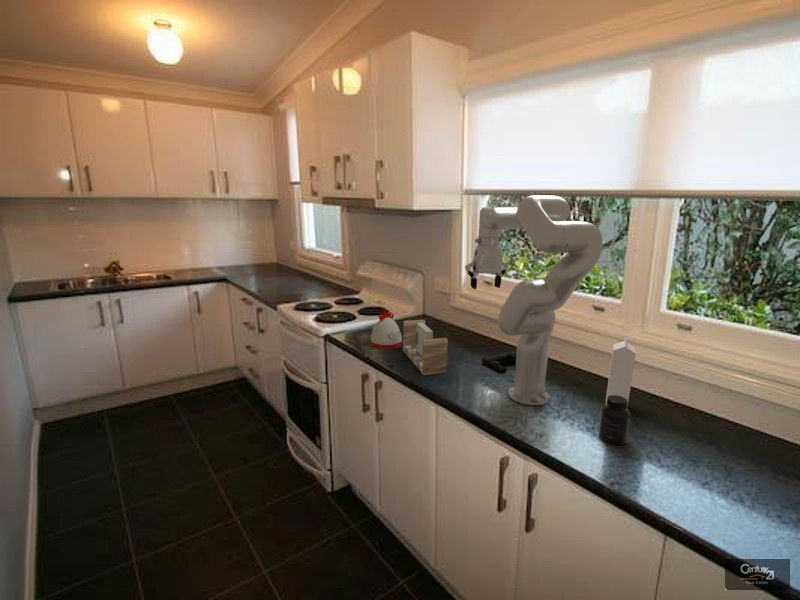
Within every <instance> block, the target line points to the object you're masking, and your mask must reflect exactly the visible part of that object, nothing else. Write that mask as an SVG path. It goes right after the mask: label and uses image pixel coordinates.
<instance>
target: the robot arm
mask: <svg viewBox="0 0 800 600" xmlns="http://www.w3.org/2000/svg"><path fill="white" fill-rule="evenodd" d="M570 209H571V208H570V204H569V202H568V201H567V200H566V199H565V198H563V197H561V196H557V195H545V194H544V195H539V194H538V195H537V194H536V195H535V194H534V195H533V194H531V195H529V196H526V197H524V198H523V199H521V200H520V201H519V203H518V206H516V207H513V206H512V207H511V206H510V207H506V206H505V207H504V206H503V207H501V206H500V207H499V206H496V207H495V206H494V207H489V206H488V207H487V206H486V207H485V206H484V207H481V209H480V210H479V222H478V235H477V238H474V242H475V243H477V245H476V246H475V249H474V254H473V261H472V262H470V263H467V264H466V265H465V266H464V269H465V271H466V273H467V275H468V276H469V277H470V287H471V289H473V290H476V289H477V285H478V284H477V283H478V279H477V277H478V275H479V274H484V275H486V274H495V277H494V283H493V284H494V287H496V288H498V289H500V288H501V285H502V278H503V277H504V275H505V274H506V272H507V271H508V268H509V264H507V263H505V262H503V252H502V250H503V249H502V245H500V234H501V233H500V232H501V230H524V231H525V232H526V234H527V236H528V237H529V238H530V240H531V241H532V242H533V244H534V245H535V247H536V248H537V249H538V250H540V251H541V252H542V253H545V254H565V256H563V257H561V258H560V259H559V260H557V261H556V262H555V264H553V266H552V267H551V269H550V271H549V272H548V273H547V274H546V275H545V276H544V277H541V278H538V279H535V278H534V279H526V280H525V279H524V280H522V281H521V282H518V283H517V284H516V285H515V286H514V287H513V288H512V290H511V291H510V294H509V295H508V297H507V299H506V300H505V302H504V304H503V305H502V307H501V309H500V311H499V314H498V317H497V318H498V319H497V323H498V327H499V329H500V330H501V331H502V332H503V334H505V335H508V336H519V338H518V341H517V344H516V345H517V346H516V350H517V354H516V364H515V365H514V366H515V369H514V379H513V386H512V387H510V388H509V389H508V392H507V394H508V397H510V399H511V400H512V401H514V402H517V403H519V404H521V405H522V404H523V405H527V406H540V405H541V406H542V405H545V404H546V403H547V402H548V401H549V400H550V398H549V394H548V392H546V390H547V389H546V388H545V387H546V377H547V368H548V367H547V366H548V358H549V357H548V356H549V349H550V340H551V337H552V333H553V330H554V327H555V324H556V323H555V322H556V313H555V311H557V310H560V309H561V308H562V307H563V306H564V305H565V304H566V302H567V301H568V299H569V298H570V297H571V295H572V294H573V293H574V292H575V290H576V289H577V288H578V286H579V284H581V282H582V281H583V280H584V279H585V278H586V276H587V275H588V274H589V273H590V272H591V271H592V269H593V268H594V267H595V266H596V265H597V263H598V261H599V260H600V257H601V255H602V252H603V248H604V247H603V246H604V240H603V239H604V238H603V234H602V231H601V230H600V228H599V227H598V226H597V225H595V224H594V223H591V222H588V221H583V220H567V219H568V217H569V215H570V211H571V210H570ZM471 268H472V271H471Z"/></svg>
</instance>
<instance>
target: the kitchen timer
mask: <svg viewBox="0 0 800 600" xmlns="http://www.w3.org/2000/svg"><path fill="white" fill-rule="evenodd" d="M377 316H378V319H379V320H378V321H377V322H376V324H375V325H374V326H373V327H372V332H371V335H370V345H371V344H372V345H373V346H372V345H371V346H372V347H374V346H376V347H375V348H377V347H379V348H378V349H387V348H388V349H395V347H396V348H398V346H399V347H400V346H401V345H403V339H402V338H403V336H402V333H401V331H400V330H401V329H400V328H399V325H398V324H397V322H396V321H395V320H394V316H395V314H394V313H392V311H390V310H388V309H387V310H384V311H380V315H379V314H378V315H377Z"/></svg>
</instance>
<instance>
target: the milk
mask: <svg viewBox="0 0 800 600" xmlns="http://www.w3.org/2000/svg"><path fill="white" fill-rule="evenodd" d="M636 352H637V351H636V348H635V347H634V346H633V345H632V344H630V343H629V342H627V336H625V338H624V340H623V341H620V342H618V343H617V342H616V343H614V344H613V346H612V352H611V353H612V355H611V359H610V367H609V373H608V374H609V375H608V381H607V382H608V383H607V387H606V394H605V395H606V396H605V405H606V404H607V398H608V396H610V395H618V396H621V397H624V398H626V399H627V401H628V403H627V408H628V406H629V405H628V404H629V402H630V401H629V400H630V399H629V398H630V393H631V387H632V380H633V374H634V367H635V361H636V355H637V353H636Z"/></svg>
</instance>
